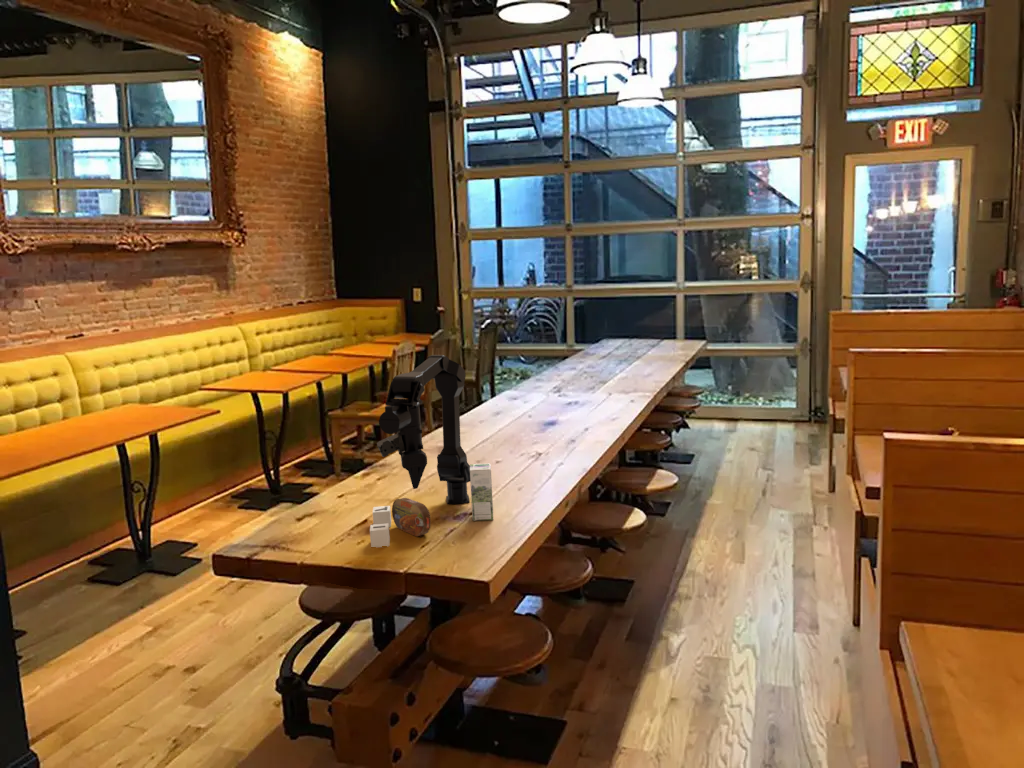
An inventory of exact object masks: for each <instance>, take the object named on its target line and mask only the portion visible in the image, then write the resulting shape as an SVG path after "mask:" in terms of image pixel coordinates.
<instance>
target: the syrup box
mask: <svg viewBox="0 0 1024 768" xmlns="http://www.w3.org/2000/svg"><path fill="white" fill-rule="evenodd" d="M469 466H470V482H469V483H470V496H471V497H470V499H471V515H472V521H473V522H475V521H476V522H478V521H492V520H493V521H494V503H493V502H494V501H493V489H492V488H493V486H492V485H493V484H492V465H491V463H489V462H488V463H474V464H469Z"/></svg>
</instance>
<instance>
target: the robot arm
mask: <svg viewBox="0 0 1024 768" xmlns="http://www.w3.org/2000/svg"><path fill="white" fill-rule="evenodd" d="M466 375H467V374H466V371H465V369H464V367H463V366H462V365H461V364H459V363H458V362H456V361H453V360H452V359H450V358H449V357H448V356H447V355H444V354H431V355H428V356H427V358H426V360H424V361H422V363H421V364H419V365H418V366H417V367H415V368H413V369H412V371H409V372H406V373H405V372H404V373H400V374H398V375H395V376H394V377H393V379H391V380H392V381H390V382H391V383H390V385H389V389H388V393H387V397H386V400H385V405H386V406H385V407H384V412H383V413H381V414H380V417H379V419H378V425H379V428H380V429H381V430H382V432H383V433H385V434H387V435H390V436H388V437H386V438H383V439H381V440H379V441H378V442H377V443H376V447H377V448H378V450H379V453H380V455H381V456H382V457H383V458H385V457H387V456H388V455H389V454H392V453H394V452H396V451H397V452H398V454H399V455H400V462H401V463H400V464H401V467H402V468H403V469H404V470H406V471H407V472H408V475H409V478H410V482H411V485H412V486H411V487H412V489H413V490H417V489H418V488H419V485H420V483H421V480H422V476H423V474H424V472H425V469H426V467H427V464H428V456H427V455H426V454H427V453H426V452H424V444H423V437H422V434H423V429H422V423H421V422H422V421H421V409H420V407H421V406H420V405H422V404H423V400H422V399H421V396H422V395H423V393H424V392H425V386H426V385H427V384H428V383H429V382H430V381H431V380H434V384H435V385H434V386H435V389H436V390H437V392H438V394H439V395H440V396H441V413H442V414H441V415H442V416H441V417H442V438H443V439H442V442H443V443H442V445H443V447H442V449H441V451H440V453H438V454H437V457H436V459H437V460H436V461H437V464H436V471H437V475H438V478H439V482H446V488H447V489H446V491H447V495H446V497H445V499H446V500H445V501H446V505H455V504H457V505H459V504H466V503H467V504H468V503H470V496H469V494H468V486H467V484H468V483H470V464H469V462H468V458H467V457H468V456H467V454H466V452H465V450H464V449H463V448H462V446H461V445H462V444H461V419H460V395H461V394H462V393H461V392H462V391H463V389H464V388H465V380H466Z"/></svg>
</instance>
